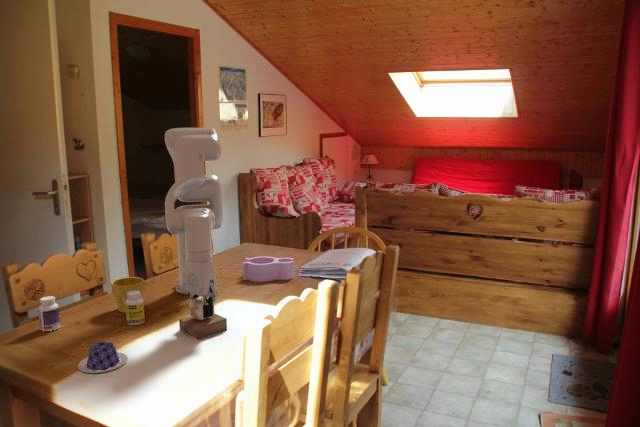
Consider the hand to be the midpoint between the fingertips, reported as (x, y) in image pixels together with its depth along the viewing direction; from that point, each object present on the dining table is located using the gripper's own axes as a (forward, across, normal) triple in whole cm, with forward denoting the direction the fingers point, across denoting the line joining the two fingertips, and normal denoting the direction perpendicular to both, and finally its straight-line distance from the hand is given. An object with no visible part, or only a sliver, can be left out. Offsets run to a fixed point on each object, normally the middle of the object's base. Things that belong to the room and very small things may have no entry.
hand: (202, 313), depth 158 cm
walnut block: (+5, 0, 0) cm, 5 cm away
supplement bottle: (+5, -22, -9) cm, 24 cm away
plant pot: (+5, -34, -4) cm, 35 cm away
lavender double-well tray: (+6, -23, +51) cm, 56 cm away
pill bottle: (+5, -38, -28) cm, 47 cm away
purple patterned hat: (+6, -3, -30) cm, 31 cm away
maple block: (+1, 0, 0) cm, 1 cm away
